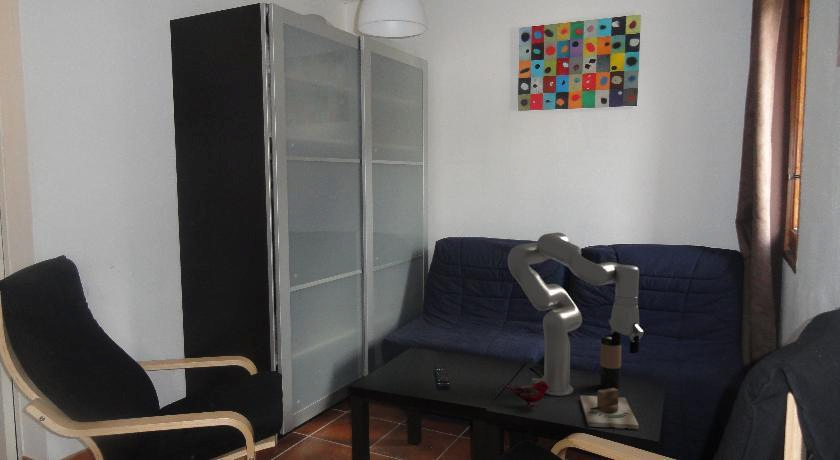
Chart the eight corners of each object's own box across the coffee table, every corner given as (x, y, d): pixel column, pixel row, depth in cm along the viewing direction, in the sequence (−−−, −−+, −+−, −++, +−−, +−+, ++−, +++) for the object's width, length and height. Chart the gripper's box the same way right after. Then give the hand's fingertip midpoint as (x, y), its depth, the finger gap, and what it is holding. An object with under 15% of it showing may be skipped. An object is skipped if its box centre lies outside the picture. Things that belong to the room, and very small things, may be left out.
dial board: (588, 426, 197) (588, 421, 196) (580, 399, 220) (580, 394, 220) (638, 429, 194) (638, 424, 194) (624, 401, 218) (625, 397, 218)
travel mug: (620, 391, 228) (621, 340, 226) (599, 389, 231) (600, 338, 229) (620, 384, 235) (621, 335, 233) (600, 382, 238) (601, 333, 236)
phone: (546, 364, 258) (562, 376, 243) (546, 367, 258) (562, 378, 243) (529, 366, 256) (545, 377, 241) (529, 369, 256) (545, 380, 241)
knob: (609, 403, 211) (609, 385, 211) (622, 410, 205) (623, 392, 204) (584, 407, 208) (585, 389, 207) (597, 415, 201) (598, 396, 201)
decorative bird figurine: (548, 411, 209) (548, 383, 208) (500, 402, 217) (501, 375, 216) (550, 408, 212) (551, 381, 211) (503, 399, 220) (504, 373, 219)
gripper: (602, 296, 213) (600, 343, 215) (634, 307, 197) (632, 357, 199) (619, 295, 216) (617, 341, 217) (652, 305, 200) (650, 355, 201)
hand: (624, 348), depth 208 cm, fingers open, 9 cm apart
